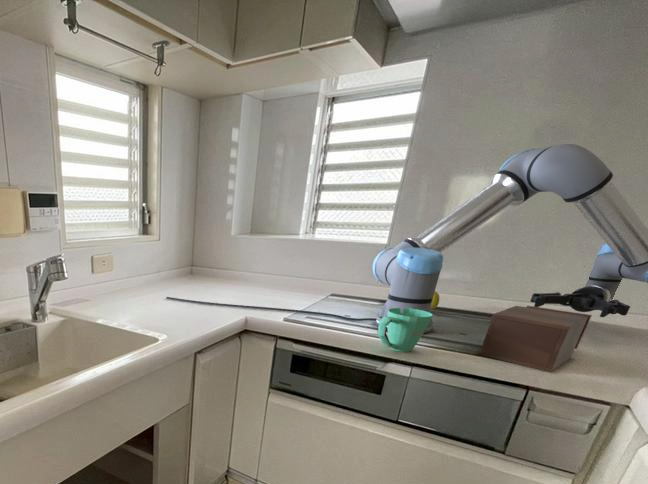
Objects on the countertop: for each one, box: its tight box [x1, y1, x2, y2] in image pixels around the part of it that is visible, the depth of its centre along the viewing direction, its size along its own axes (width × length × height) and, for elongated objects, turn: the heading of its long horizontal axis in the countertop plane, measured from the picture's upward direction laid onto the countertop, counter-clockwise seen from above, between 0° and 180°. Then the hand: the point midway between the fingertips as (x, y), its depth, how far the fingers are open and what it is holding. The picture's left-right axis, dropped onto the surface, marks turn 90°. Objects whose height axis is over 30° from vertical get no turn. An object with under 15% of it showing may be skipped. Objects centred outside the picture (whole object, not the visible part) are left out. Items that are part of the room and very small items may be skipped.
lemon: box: [431, 290, 440, 311], centre depth 144 cm, size 6×6×8 cm
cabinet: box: [478, 305, 588, 372], centre depth 99 cm, size 16×14×11 cm
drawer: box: [526, 305, 593, 350], centre depth 105 cm, size 20×13×9 cm, turn 124°
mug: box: [376, 308, 434, 353], centre depth 104 cm, size 15×10×10 cm
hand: (568, 307), depth 112 cm, fingers open, 13 cm apart
